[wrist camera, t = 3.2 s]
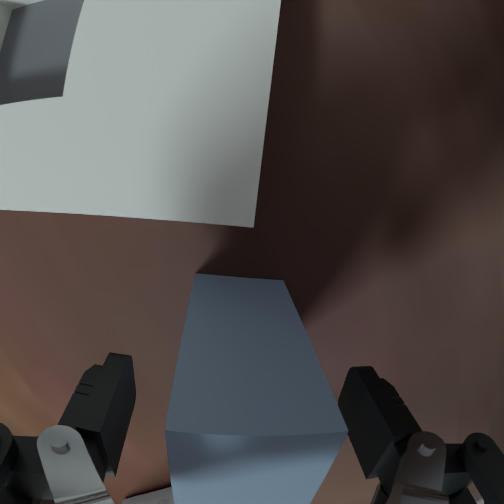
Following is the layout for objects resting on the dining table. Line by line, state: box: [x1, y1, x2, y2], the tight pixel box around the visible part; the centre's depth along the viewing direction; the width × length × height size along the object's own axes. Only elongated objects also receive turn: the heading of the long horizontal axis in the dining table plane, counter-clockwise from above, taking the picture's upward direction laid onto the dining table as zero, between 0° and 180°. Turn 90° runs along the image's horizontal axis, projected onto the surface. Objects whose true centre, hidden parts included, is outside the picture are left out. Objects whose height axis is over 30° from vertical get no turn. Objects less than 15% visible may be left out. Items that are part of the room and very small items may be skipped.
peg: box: [165, 273, 348, 504], centre depth 11 cm, size 4×4×9 cm
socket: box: [0, 0, 281, 228], centre depth 9 cm, size 20×14×3 cm
